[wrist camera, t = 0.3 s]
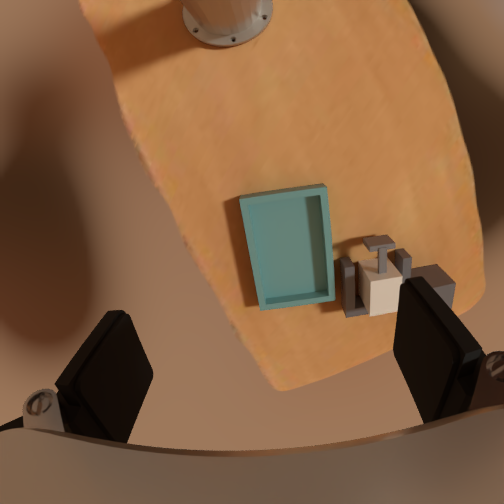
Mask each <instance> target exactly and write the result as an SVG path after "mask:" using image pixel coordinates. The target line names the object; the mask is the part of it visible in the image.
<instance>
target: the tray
mask: <svg viewBox="0 0 504 504" xmlns="http://www.w3.org/2000/svg"><path fill="white" fill-rule="evenodd" d="M239 201H240V207H241V212H242V217H243V223H244V228H245V233H246V239H247V244H248V249H249V254H250V260H251V265H252V270H253V275H254V281H255V286H256V291H257V296H258V302H259V307H260V311H262V310H270V309H278V308H286V307H293V306H300V305H307V304H314V303H321V302H328V301H334V300H335V281H334V264H333V250H332V237H331V225H330V214H329V204H328V194H327V187H326V186H325V185H324V184H315V185H308V186H300V187H293V188H286V189H279V190H272V191H265V192H259V193H252V194H246V195H241V196H240V198H239Z"/></svg>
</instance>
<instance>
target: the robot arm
mask: <svg viewBox="0 0 504 504" xmlns="http://www.w3.org/2000/svg"><path fill="white" fill-rule="evenodd" d="M180 1H181V3H182V4H183V10H182V14H183V20H184V24H185V26H186V27H187V29H188V31H189V32H190V33H191V34H192V35H193V36H194V37H195V38H197V39H198V40H200V41H202V42H203V43H206V44H209V45H213V46H219V47H229V46H236V45H240V44H243V43H246V42H248V41H250V40H252V39H254V38H255V37H257V36H258V35H259V34H260V33H261V32H262V31H263V30H264V29H265V28H266V27H267V25H268V24H269V22H270V19H271V17H272V11H273V3H272V0H180ZM263 18H266V20H263ZM196 31H198V32H197V33H195V32H196ZM233 39H234V40H235V42H232V40H233ZM393 351H394V356H395V358H396V360H397V363H398V365H399V367H400V369H401V371H402V374H403V376H404V378H405V380H406V382H407V385H408V387H409V389H410V392H411V394H412V396H413V398H414V401H415V403H416V406H417V408H418V411H419V413H420V415H421V418H422V420H423V423H424V424H422V425H418V426H414V427H410V428H406V429H402V430H398V431H394V432H390V433H385V434H380V435H376V436H371V437H366V438H361V439H355V440H350V441H344V442H337V443H331V444H323V445H315V446H307V447H296V448H285V449H270V450H248V451H247V450H246V451H209V450H187V449H172V448H160V447H151V446H142V445H133V444H127V442H128V439H129V436H130V434H131V431H132V429H133V426H134V423H135V421H136V419H137V416H138V413H139V411H140V408H141V406H142V404H143V401H144V399H145V396H146V394H147V391H148V389H149V386H150V384H151V381H152V379H153V370H152V367H151V365H150V363H149V361H148V359H147V356H146V354H145V352H144V349H143V347H142V344H141V342H140V340H139V337H138V335H137V332H136V330H135V327H134V325H133V322H132V320H131V317H130V315H129V314H126V313H125V312H124V311H123V310H113V311H108V312H107V313H106V314H105V315H104V317H103V318H102V319H101V320H100V322H99V323H98V325H97V326H96V327H95V328H94V330H93V331H92V332H91V334H90V335H89V337H88V338H87V339H86V340H85V342H84V343H83V344H82V346H81V347H80V348H79V350H78V351H77V353H76V354H75V356H74V357H73V358H72V360H71V361H70V362H69V364H68V365H67V367H66V368H65V369H64V371H63V372H62V374H61V375H60V377H59V378H58V379H57V381H56V383H55V385H56V387H57V388H58V390H59V391H58V392H57V394H56V393H55V392H54V391H53V390H51V389H42V390H38V391H36V392H34V393H33V394H31V395H30V396H29V397H28V398H27V400H26V401H25V403H24V405H23V416H22V417H19V418H17V419H15V420H13V421H11V422H8V423H6V424H4V425H2V426H0V504H504V351H495V352H491V353H489V354H487V355H485V354H484V352H483V351H482V347H481V346H480V345H479V344H478V342H477V341H476V340H475V338H474V337H473V336H472V334H471V333H470V332H469V331H468V329H467V328H466V327H465V326H464V324H463V323H462V322H461V321H460V319H459V318H458V317H457V316H456V315H455V313H454V312H453V311H452V310H451V309H450V307H449V306H448V305H447V304H446V303H445V302H444V300H443V299H442V298H441V297H440V296H439V295H438V293H437V292H436V291H435V290H434V289H433V288H432V287H431V285H430V284H429V283H428V282H427V281H426V280H425V279H424V278H423V277H422V276H418V277H412V278H406V279H405V281H404V283H402V284H401V285H400V290H399V302H398V312H397V321H396V329H395V337H394V344H393Z"/></svg>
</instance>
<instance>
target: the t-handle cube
mask: <svg viewBox="0 0 504 504" xmlns="http://www.w3.org/2000/svg"><path fill="white" fill-rule="evenodd" d="M363 244H364V245H365V246H366V248H367V249H368V250H369V252H374V251H378V258H374V259H368V260H361V261H358V279H359V295H360V297H361V299H362V301H363V303H364V305H365V308H366V310H367V312H368V314H369V316H376V315H381V314H386V313H391V312H396V311H398V302H399V290H400V285H401V284H402V278H403V276H402V275H401V274H400V272H399V271H398V270H397V269H396V267H395V266H394V265H393V264H392V262H391V261H390V260H389V259H388V257H387V249H393V248H395V242H394V241H393V240H392V239H391V238H390V237H389V236H388V235H381V236H374V237H367V238H363Z"/></svg>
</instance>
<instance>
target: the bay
mask: <svg viewBox="0 0 504 504" xmlns="http://www.w3.org/2000/svg"><path fill="white" fill-rule="evenodd" d="M411 263H412V257H411V256H410V255H409V254H408V253H407V252H406V251H405V250H404V249H397V250H395V267H396V269H397V270H398V271H399V272H400V274H401V275H402V276H403V278H402V283H404V281H405V279H406V278H412V277H418V276H422V277H423V278H424V279H425V280H426V281H427V282H428V283H429V284H430V285H431V287H432V288H433V289H434V290H435V291H436V292H437V293H438V295H439V296H440V297H441V298H442V299H443V300H444V302H445V303H446V304H447V305H448V306H449V307H450V309H451V308H452V303H453V297H454V291H455V285H456V283H455V282H454V281H453V280H452V279H451V278H450V277H449V276H448V275H447V274H446V273H445V272H444V271H443V270H442V269H441V268H440V267H439V266H438V265H437V264H435V265H429V266H424V267H418V268H413V269H411ZM340 270H341V294H342V308H343V310H344V313H345V316H346V318H347V317H353V316H359V315H365V314H368V312H367V310H366V308H365V305H364V303H363V301H362V299H361V297H360V296H355V266H354V265H353V263H352V261H351V259H350V258H349V257H344V258H340Z"/></svg>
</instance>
